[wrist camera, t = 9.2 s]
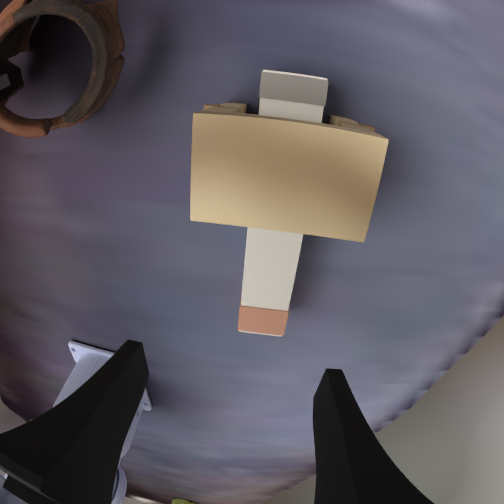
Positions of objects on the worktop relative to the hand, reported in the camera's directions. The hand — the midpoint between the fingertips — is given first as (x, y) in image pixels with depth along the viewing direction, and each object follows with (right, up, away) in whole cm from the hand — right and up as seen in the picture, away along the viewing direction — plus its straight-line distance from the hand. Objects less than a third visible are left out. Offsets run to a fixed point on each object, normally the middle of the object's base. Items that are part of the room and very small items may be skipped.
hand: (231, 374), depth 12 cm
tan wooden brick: (+3, +10, +5) cm, 12 cm away
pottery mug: (-11, +17, +3) cm, 21 cm away
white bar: (+2, +7, +7) cm, 10 cm away
